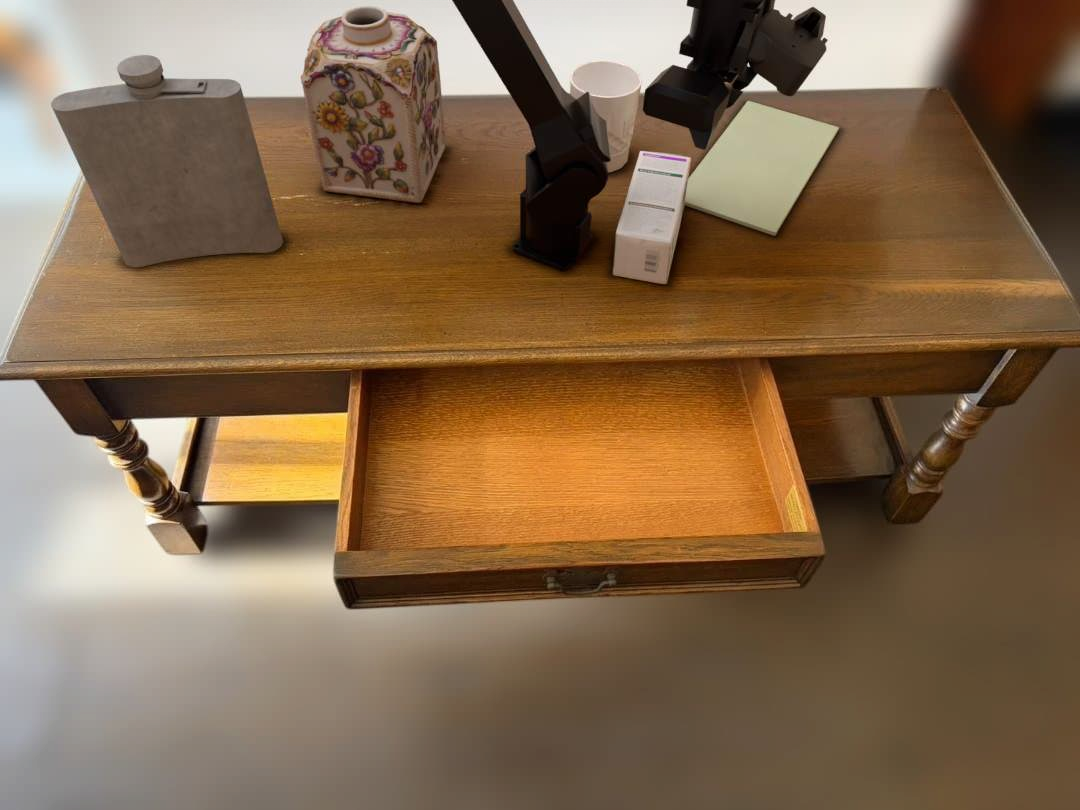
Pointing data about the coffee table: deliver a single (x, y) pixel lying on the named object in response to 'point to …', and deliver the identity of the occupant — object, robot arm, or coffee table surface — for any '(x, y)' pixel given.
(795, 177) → the paper notepad
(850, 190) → the coffee table surface
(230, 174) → the hip flask
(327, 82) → the decorative jar
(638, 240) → the syrup box
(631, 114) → the white cup
